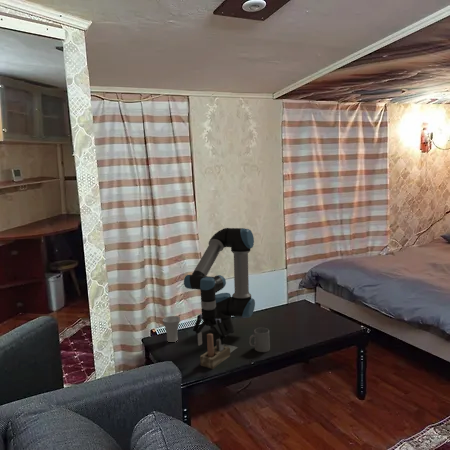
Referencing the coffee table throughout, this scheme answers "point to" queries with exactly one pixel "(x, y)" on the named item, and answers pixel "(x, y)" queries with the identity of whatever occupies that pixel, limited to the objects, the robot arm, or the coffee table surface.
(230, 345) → the mat
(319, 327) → the coffee table surface
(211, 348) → the dowel
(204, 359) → the socket block
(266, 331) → the mug
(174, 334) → the cup
